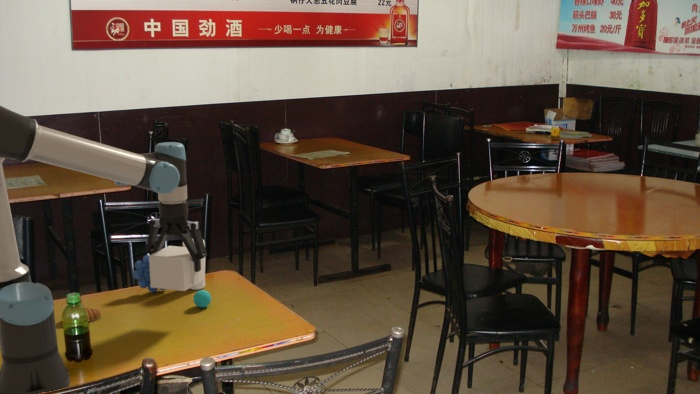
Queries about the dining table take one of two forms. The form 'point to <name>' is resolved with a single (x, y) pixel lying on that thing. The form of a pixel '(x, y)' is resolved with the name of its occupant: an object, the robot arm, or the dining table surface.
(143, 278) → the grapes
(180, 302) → the dining table surface
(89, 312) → the pastry
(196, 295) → the ball
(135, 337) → the dining table surface
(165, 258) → the matte cream cube
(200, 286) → the drinking glass
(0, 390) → the robot arm
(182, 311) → the dining table surface
